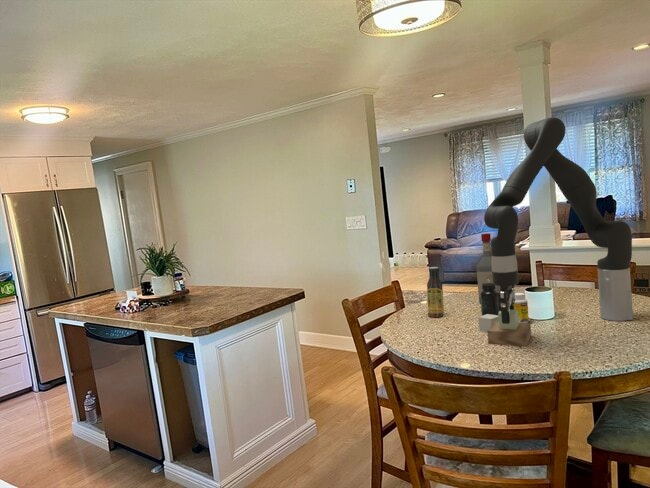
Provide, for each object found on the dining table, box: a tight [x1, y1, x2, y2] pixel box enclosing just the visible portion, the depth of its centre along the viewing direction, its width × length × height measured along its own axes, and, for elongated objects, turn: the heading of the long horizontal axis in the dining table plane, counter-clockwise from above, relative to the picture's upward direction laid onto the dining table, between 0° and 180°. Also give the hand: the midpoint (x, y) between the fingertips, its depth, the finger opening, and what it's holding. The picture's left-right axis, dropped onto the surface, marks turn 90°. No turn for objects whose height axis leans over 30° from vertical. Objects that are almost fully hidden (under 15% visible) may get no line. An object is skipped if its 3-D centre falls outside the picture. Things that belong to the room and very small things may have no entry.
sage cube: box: [498, 310, 519, 329], centre depth 141 cm, size 5×5×5 cm
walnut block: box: [486, 322, 532, 346], centre depth 142 cm, size 11×11×4 cm
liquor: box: [476, 232, 500, 305], centre depth 191 cm, size 9×9×30 cm
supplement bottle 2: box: [514, 292, 530, 323], centre depth 159 cm, size 6×6×10 cm
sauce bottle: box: [426, 266, 445, 318], centre depth 179 cm, size 7×6×20 cm
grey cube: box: [477, 314, 499, 333], centre depth 153 cm, size 5×5×5 cm
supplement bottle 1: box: [480, 283, 500, 316], centre depth 173 cm, size 7×7×12 cm
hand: (508, 319), depth 141 cm, fingers open, 8 cm apart
